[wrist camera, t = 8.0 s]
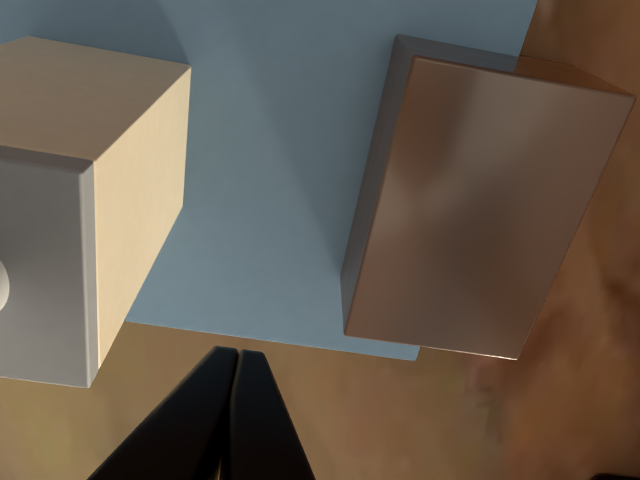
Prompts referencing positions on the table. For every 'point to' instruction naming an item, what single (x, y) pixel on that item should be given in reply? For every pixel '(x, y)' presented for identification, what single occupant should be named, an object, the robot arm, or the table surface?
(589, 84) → the walnut block
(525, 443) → the table surface
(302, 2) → the placemat
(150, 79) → the salt mill
